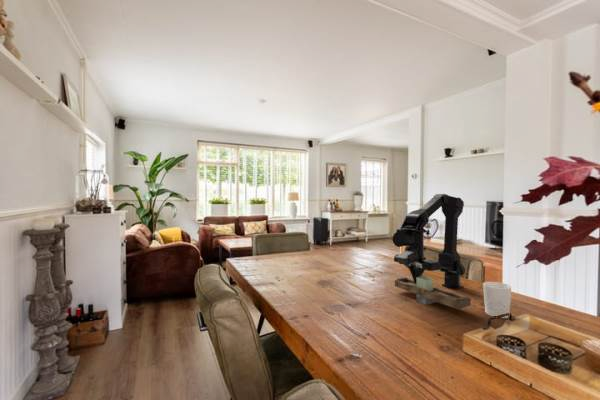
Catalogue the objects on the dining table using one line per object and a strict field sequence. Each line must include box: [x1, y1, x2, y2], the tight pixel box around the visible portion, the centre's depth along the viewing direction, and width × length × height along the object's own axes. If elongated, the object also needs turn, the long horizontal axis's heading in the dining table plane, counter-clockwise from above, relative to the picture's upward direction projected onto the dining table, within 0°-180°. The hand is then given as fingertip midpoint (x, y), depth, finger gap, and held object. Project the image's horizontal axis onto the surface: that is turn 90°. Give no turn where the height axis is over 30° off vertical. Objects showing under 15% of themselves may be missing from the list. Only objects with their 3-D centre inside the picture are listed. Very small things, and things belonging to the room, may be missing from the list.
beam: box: [394, 276, 472, 310], centre depth 108 cm, size 28×9×6 cm, turn 27°
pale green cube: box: [416, 275, 434, 291], centre depth 109 cm, size 4×4×4 cm
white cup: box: [482, 281, 512, 319], centre depth 95 cm, size 8×8×10 cm
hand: (416, 282), depth 113 cm, fingers closed
